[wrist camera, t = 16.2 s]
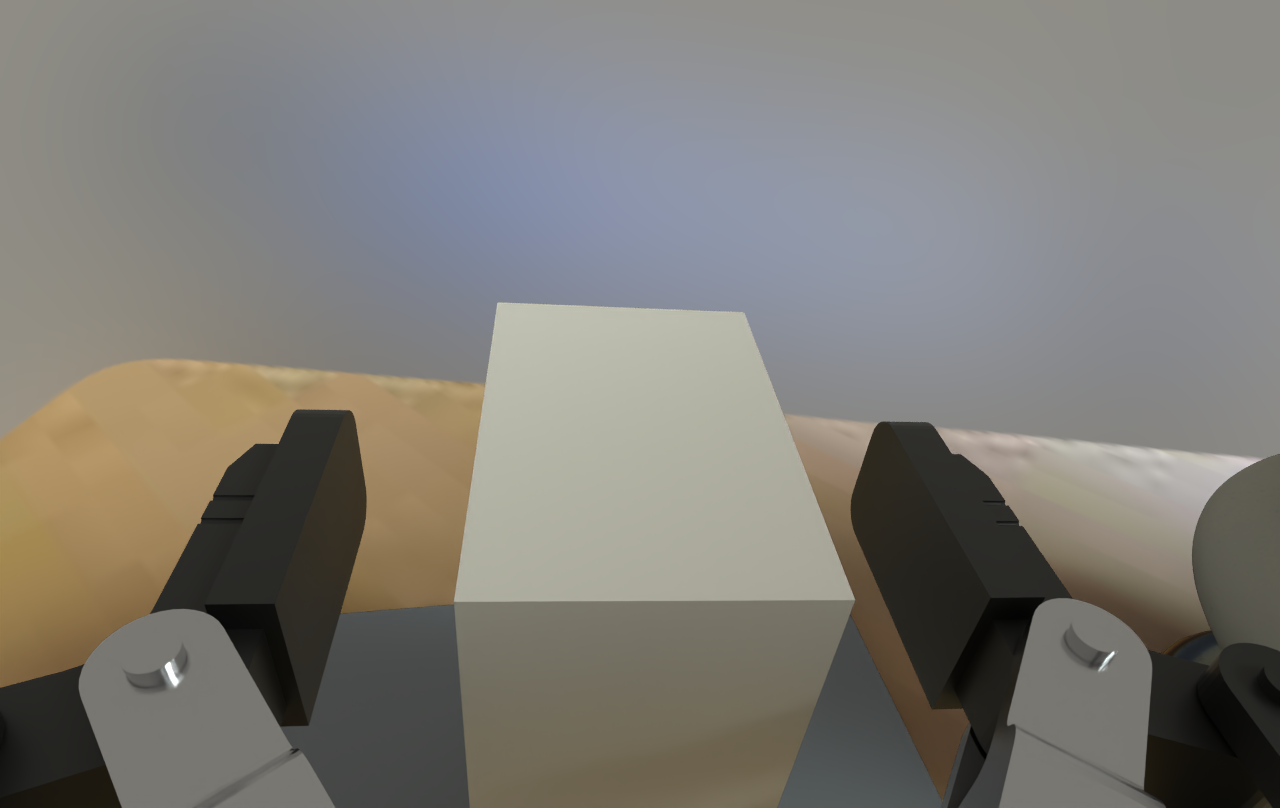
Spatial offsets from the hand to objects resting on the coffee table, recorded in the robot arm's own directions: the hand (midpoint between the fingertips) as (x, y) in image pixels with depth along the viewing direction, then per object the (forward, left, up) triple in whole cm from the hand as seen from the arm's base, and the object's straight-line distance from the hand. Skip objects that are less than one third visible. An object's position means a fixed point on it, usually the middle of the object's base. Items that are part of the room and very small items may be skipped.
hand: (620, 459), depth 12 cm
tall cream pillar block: (0, +1, -9) cm, 9 cm away
